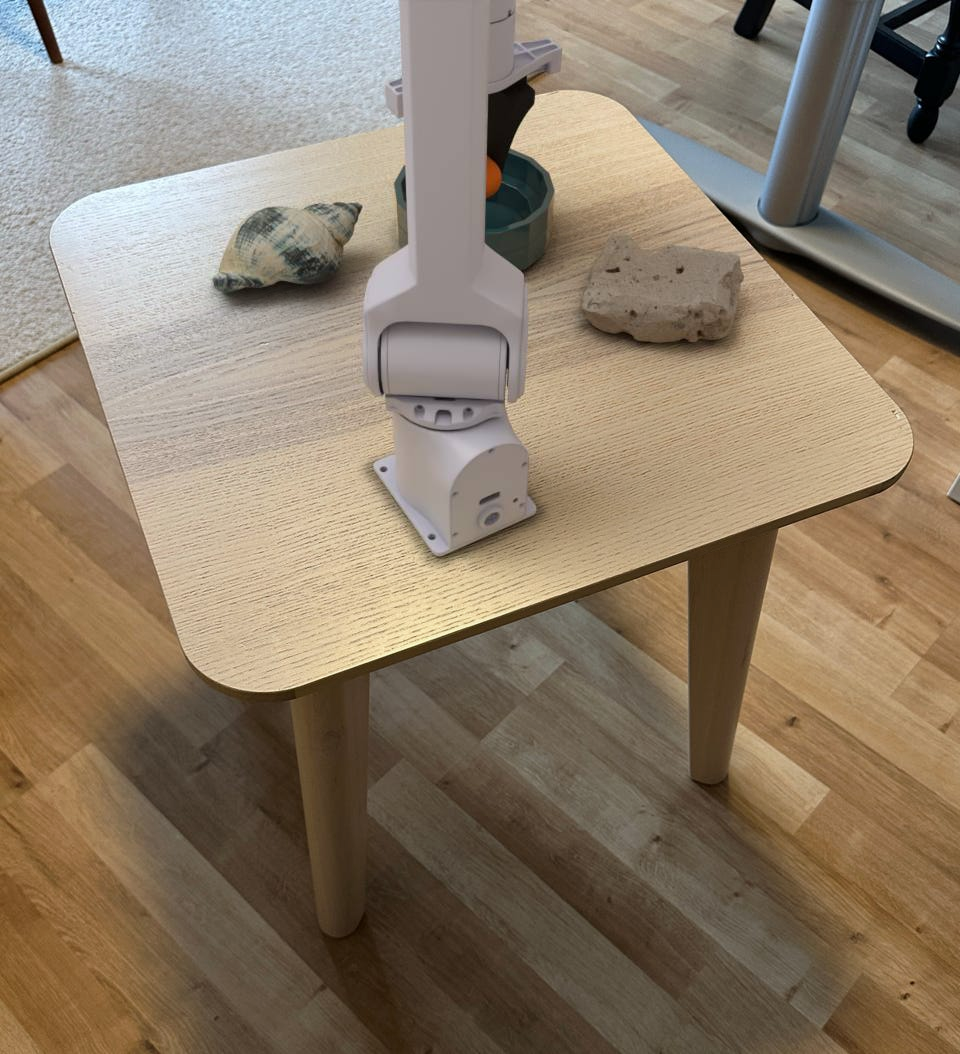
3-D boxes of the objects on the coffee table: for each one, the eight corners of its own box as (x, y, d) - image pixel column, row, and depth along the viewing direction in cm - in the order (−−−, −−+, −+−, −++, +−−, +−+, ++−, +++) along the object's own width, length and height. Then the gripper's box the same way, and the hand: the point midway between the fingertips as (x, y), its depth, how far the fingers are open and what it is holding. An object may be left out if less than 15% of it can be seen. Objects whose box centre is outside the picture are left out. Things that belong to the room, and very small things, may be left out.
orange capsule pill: (508, 199, 89) (509, 164, 86) (474, 210, 88) (475, 175, 85) (471, 163, 92) (472, 129, 90) (438, 174, 91) (438, 139, 89)
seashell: (227, 275, 92) (367, 272, 92) (209, 297, 86) (361, 294, 86) (218, 198, 90) (363, 196, 90) (199, 214, 83) (356, 212, 83)
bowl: (578, 254, 92) (584, 204, 88) (444, 303, 88) (443, 252, 84) (499, 178, 100) (500, 128, 96) (371, 219, 95) (367, 169, 91)
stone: (571, 265, 91) (574, 349, 85) (585, 208, 86) (588, 293, 80) (725, 283, 92) (738, 367, 86) (746, 227, 87) (762, 312, 81)
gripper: (531, -36, 83) (523, 126, 93) (362, 6, 78) (373, 172, 89) (582, 1, 79) (568, 166, 90) (407, 48, 74) (414, 216, 85)
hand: (474, 172), depth 89 cm, fingers closed on orange capsule pill, 3 cm apart
